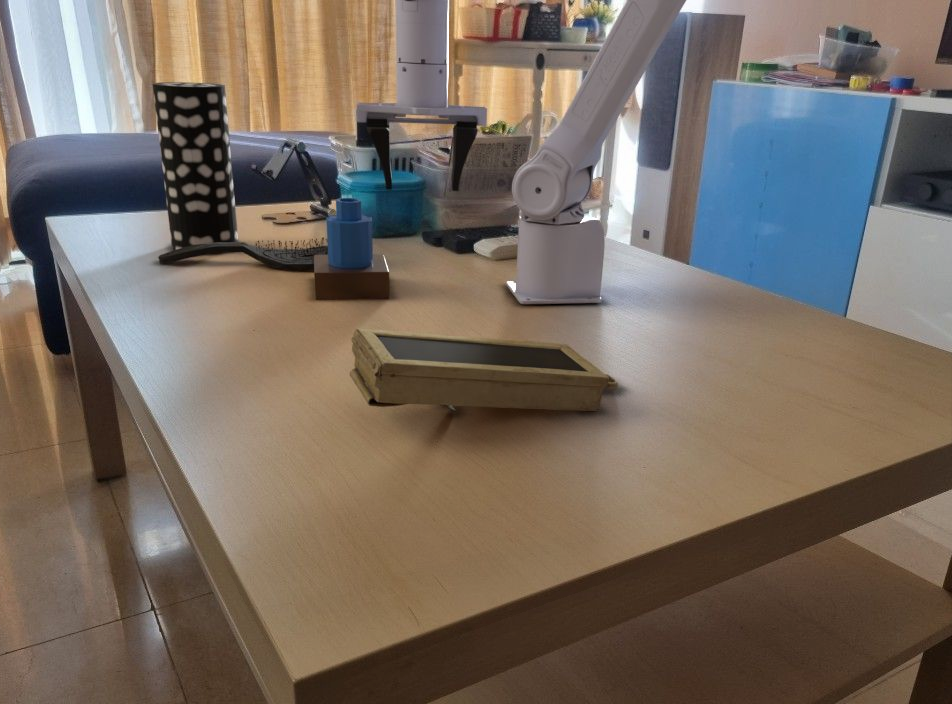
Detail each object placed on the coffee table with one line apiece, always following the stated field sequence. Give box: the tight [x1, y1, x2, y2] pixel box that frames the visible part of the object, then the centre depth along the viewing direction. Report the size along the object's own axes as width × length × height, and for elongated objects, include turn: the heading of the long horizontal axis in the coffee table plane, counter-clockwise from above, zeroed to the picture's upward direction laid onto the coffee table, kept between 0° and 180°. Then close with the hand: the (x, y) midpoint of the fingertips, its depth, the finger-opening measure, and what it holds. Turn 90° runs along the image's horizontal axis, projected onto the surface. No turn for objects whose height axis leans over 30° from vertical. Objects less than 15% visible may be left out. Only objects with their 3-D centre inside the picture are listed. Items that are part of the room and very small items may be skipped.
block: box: [313, 253, 391, 301], centre depth 95 cm, size 8×8×3 cm
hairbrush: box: [157, 237, 328, 272], centre depth 103 cm, size 8×4×25 cm
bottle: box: [325, 197, 374, 269], centre depth 93 cm, size 5×5×7 cm
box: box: [349, 327, 619, 412], centre depth 66 cm, size 8×22×5 cm, turn 114°
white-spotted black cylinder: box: [152, 81, 239, 255], centre depth 106 cm, size 8×8×20 cm
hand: (422, 188), depth 97 cm, fingers open, 7 cm apart
